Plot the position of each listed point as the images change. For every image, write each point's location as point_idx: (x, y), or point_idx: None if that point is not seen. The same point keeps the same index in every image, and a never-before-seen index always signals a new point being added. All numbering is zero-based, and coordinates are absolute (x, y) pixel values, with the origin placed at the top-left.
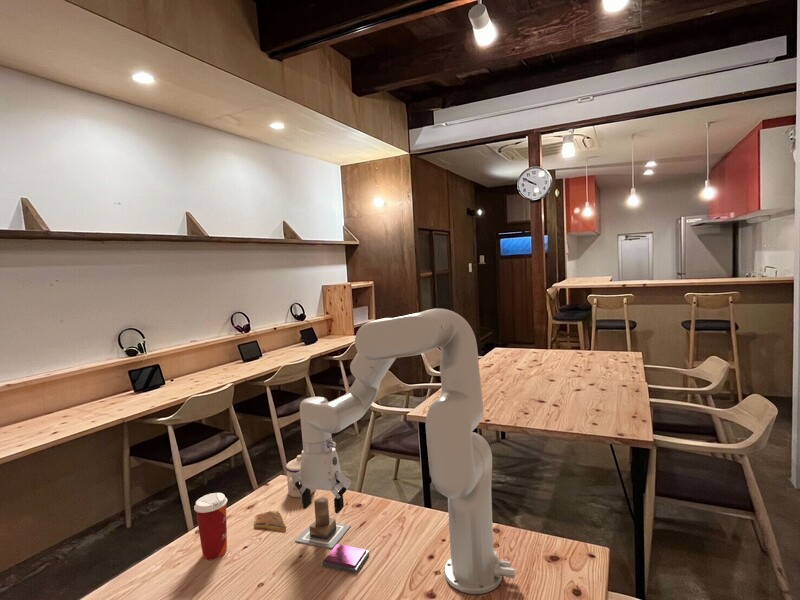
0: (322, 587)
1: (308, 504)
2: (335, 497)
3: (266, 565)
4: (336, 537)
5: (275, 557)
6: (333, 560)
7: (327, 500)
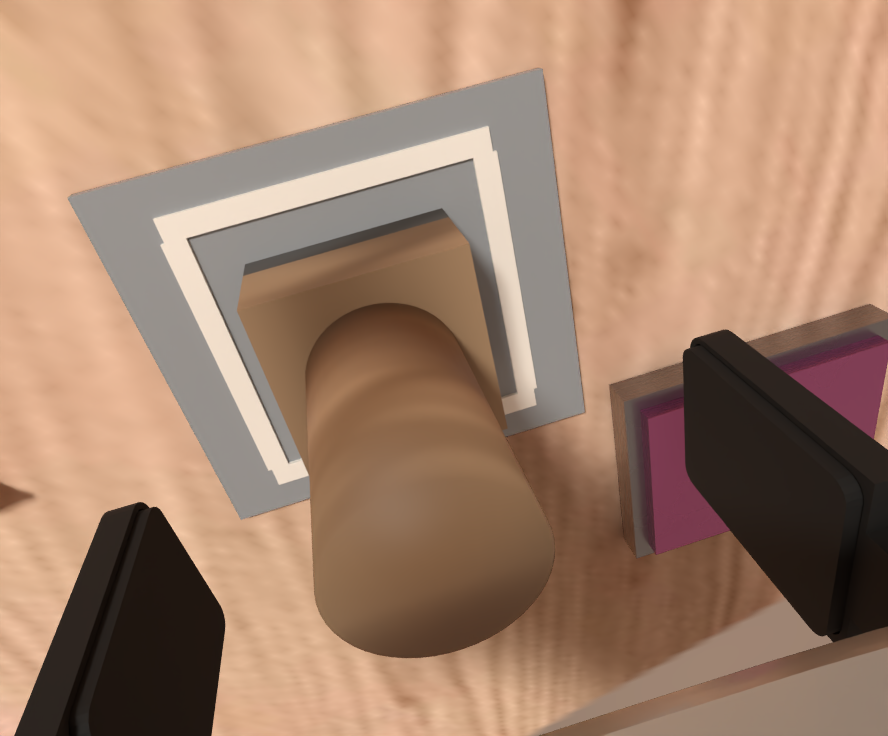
0: (714, 609)
1: (188, 584)
2: (833, 609)
3: (305, 704)
4: (533, 304)
5: (284, 654)
6: (716, 530)
7: (532, 511)
